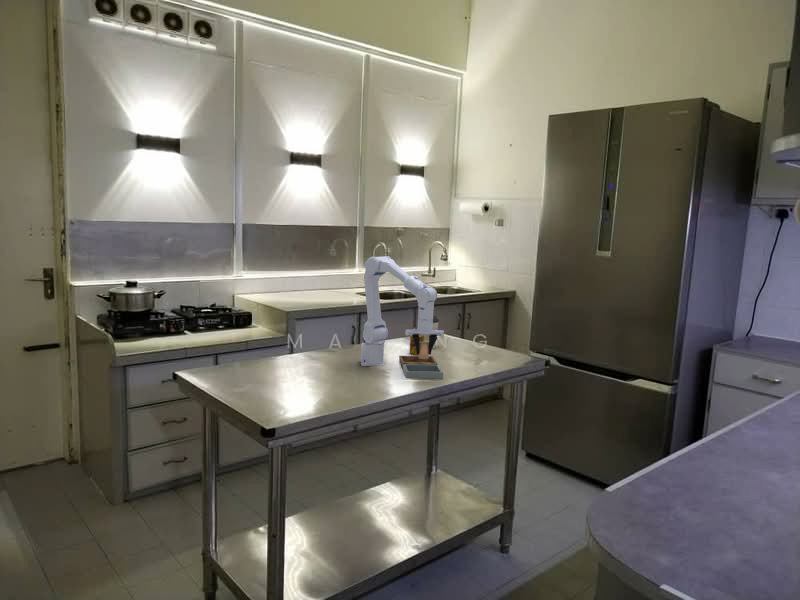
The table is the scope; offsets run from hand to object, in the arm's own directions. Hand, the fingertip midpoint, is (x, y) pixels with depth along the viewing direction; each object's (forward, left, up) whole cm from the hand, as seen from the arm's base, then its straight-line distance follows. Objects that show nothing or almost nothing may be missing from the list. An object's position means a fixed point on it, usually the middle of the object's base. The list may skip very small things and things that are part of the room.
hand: (423, 353), depth 221 cm
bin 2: (0, 0, -9) cm, 9 cm away
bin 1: (0, +13, -9) cm, 16 cm away
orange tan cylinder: (0, 0, -2) cm, 2 cm away
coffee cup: (+9, +48, -9) cm, 50 cm away
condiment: (+2, +33, -9) cm, 34 cm away
